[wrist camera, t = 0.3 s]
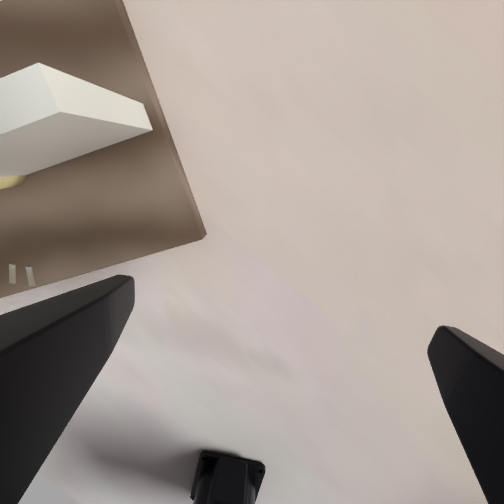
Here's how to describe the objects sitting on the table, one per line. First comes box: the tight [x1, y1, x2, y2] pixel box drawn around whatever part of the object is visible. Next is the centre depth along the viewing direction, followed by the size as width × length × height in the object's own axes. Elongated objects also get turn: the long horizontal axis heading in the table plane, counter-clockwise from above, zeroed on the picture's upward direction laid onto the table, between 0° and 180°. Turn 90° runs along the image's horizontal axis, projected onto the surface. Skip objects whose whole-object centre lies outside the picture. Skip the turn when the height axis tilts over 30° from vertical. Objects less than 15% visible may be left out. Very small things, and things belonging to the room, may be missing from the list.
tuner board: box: [0, 0, 207, 298], centre depth 21 cm, size 17×20×2 cm
